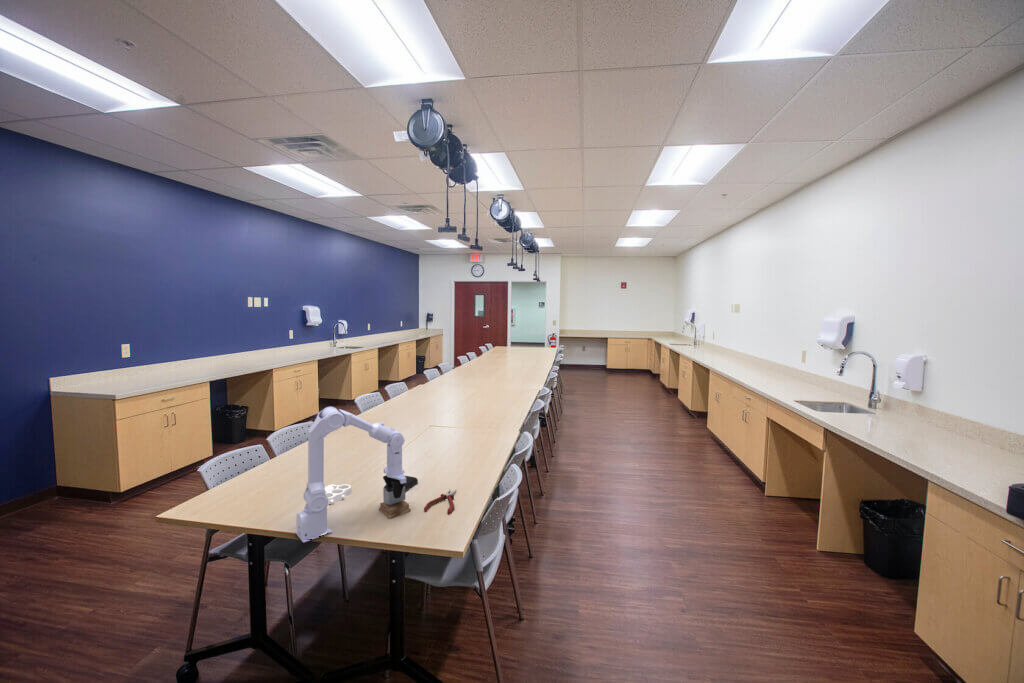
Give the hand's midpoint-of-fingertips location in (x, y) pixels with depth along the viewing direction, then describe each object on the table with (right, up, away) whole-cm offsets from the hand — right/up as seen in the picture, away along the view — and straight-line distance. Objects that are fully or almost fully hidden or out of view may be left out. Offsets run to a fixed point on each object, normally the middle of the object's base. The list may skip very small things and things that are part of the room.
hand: (394, 495), depth 160 cm
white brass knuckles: (-30, -6, +10) cm, 33 cm away
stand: (0, -6, 0) cm, 6 cm away
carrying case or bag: (-4, -5, +22) cm, 23 cm away
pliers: (+20, -7, +8) cm, 22 cm away
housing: (0, -2, 0) cm, 2 cm away
